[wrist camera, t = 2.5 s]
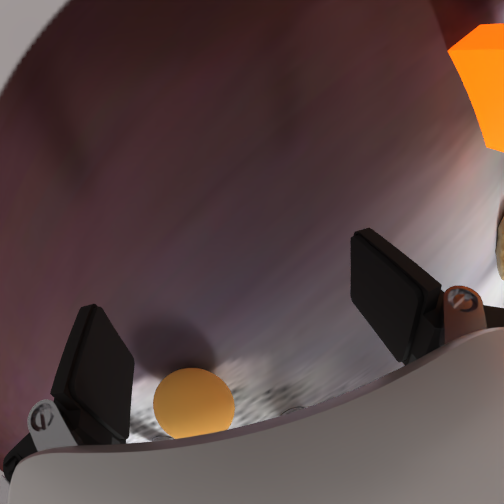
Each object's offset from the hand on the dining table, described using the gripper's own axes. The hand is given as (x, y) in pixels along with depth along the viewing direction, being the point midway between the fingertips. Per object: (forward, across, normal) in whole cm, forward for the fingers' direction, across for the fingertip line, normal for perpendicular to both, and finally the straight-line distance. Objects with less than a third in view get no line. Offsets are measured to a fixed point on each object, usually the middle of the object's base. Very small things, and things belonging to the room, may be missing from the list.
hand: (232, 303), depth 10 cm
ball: (+3, +5, +10) cm, 12 cm away
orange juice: (+6, -23, -8) cm, 25 cm away
